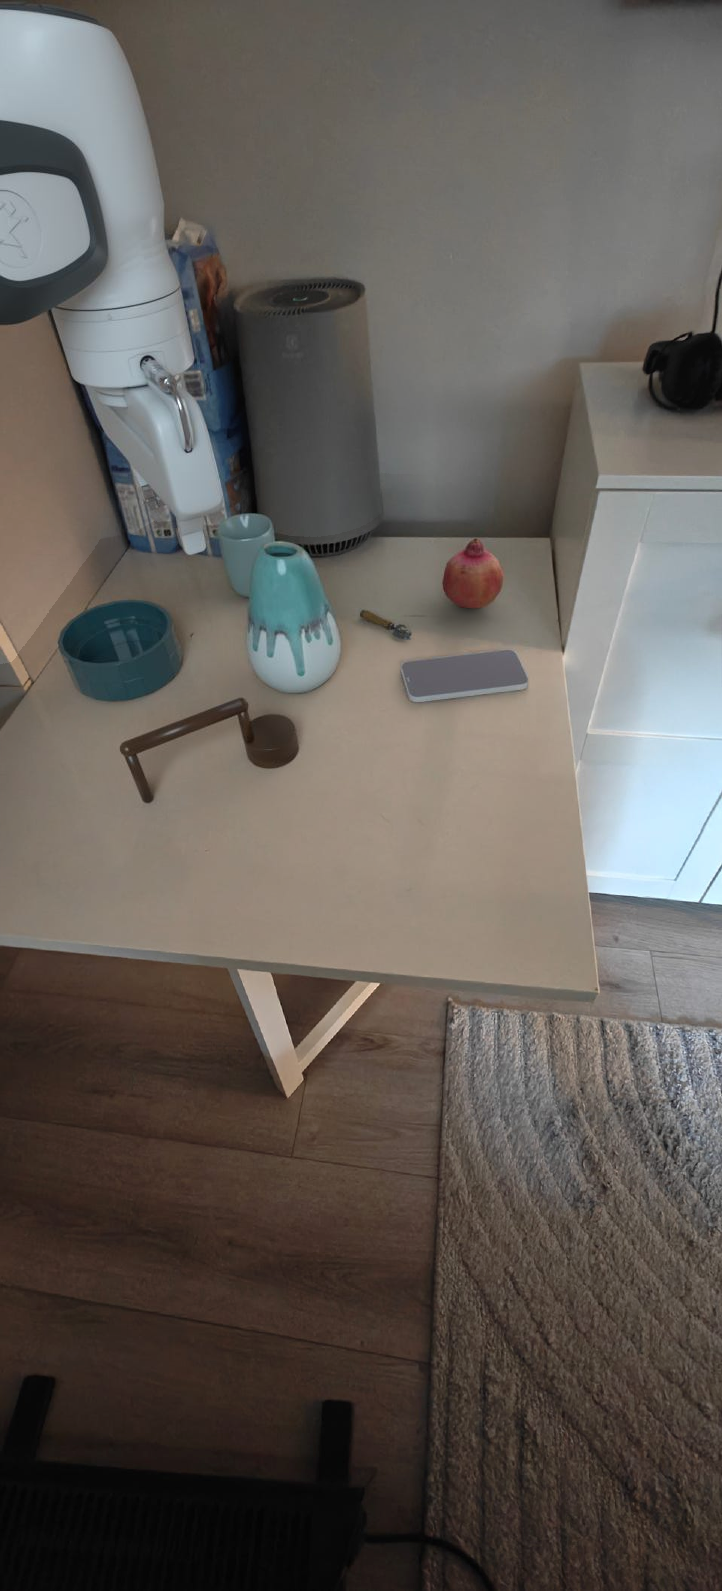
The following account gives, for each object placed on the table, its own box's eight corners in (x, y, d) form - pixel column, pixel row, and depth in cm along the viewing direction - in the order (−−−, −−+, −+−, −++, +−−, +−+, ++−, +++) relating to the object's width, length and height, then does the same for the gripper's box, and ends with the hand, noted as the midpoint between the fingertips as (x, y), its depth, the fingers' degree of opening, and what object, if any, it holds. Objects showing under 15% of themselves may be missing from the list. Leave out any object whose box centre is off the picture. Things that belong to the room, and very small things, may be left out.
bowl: (131, 717, 90) (117, 678, 85) (51, 683, 95) (33, 645, 91) (204, 654, 98) (194, 616, 93) (126, 627, 103) (113, 589, 99)
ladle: (285, 726, 87) (275, 667, 81) (307, 756, 83) (298, 696, 77) (133, 787, 82) (109, 728, 75) (150, 821, 78) (126, 763, 71)
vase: (331, 641, 98) (319, 514, 85) (353, 694, 90) (343, 563, 77) (246, 658, 97) (220, 531, 83) (261, 714, 89) (235, 583, 76)
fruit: (431, 600, 104) (432, 534, 96) (480, 585, 106) (485, 519, 98) (460, 629, 98) (463, 562, 91) (511, 612, 100) (518, 545, 93)
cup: (279, 604, 105) (269, 539, 98) (226, 605, 105) (212, 541, 98) (284, 575, 110) (275, 511, 103) (233, 577, 111) (221, 513, 103)
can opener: (359, 618, 101) (358, 611, 100) (371, 611, 102) (370, 604, 101) (406, 644, 97) (406, 637, 96) (418, 637, 98) (418, 629, 97)
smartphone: (531, 684, 89) (409, 698, 88) (530, 689, 89) (409, 704, 88) (514, 647, 94) (399, 661, 93) (513, 653, 94) (399, 667, 93)
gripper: (223, 371, 46) (257, 568, 56) (128, 301, 59) (170, 473, 69) (127, 393, 44) (180, 593, 54) (50, 316, 57) (105, 491, 67)
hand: (174, 525), depth 62 cm, fingers open, 8 cm apart
